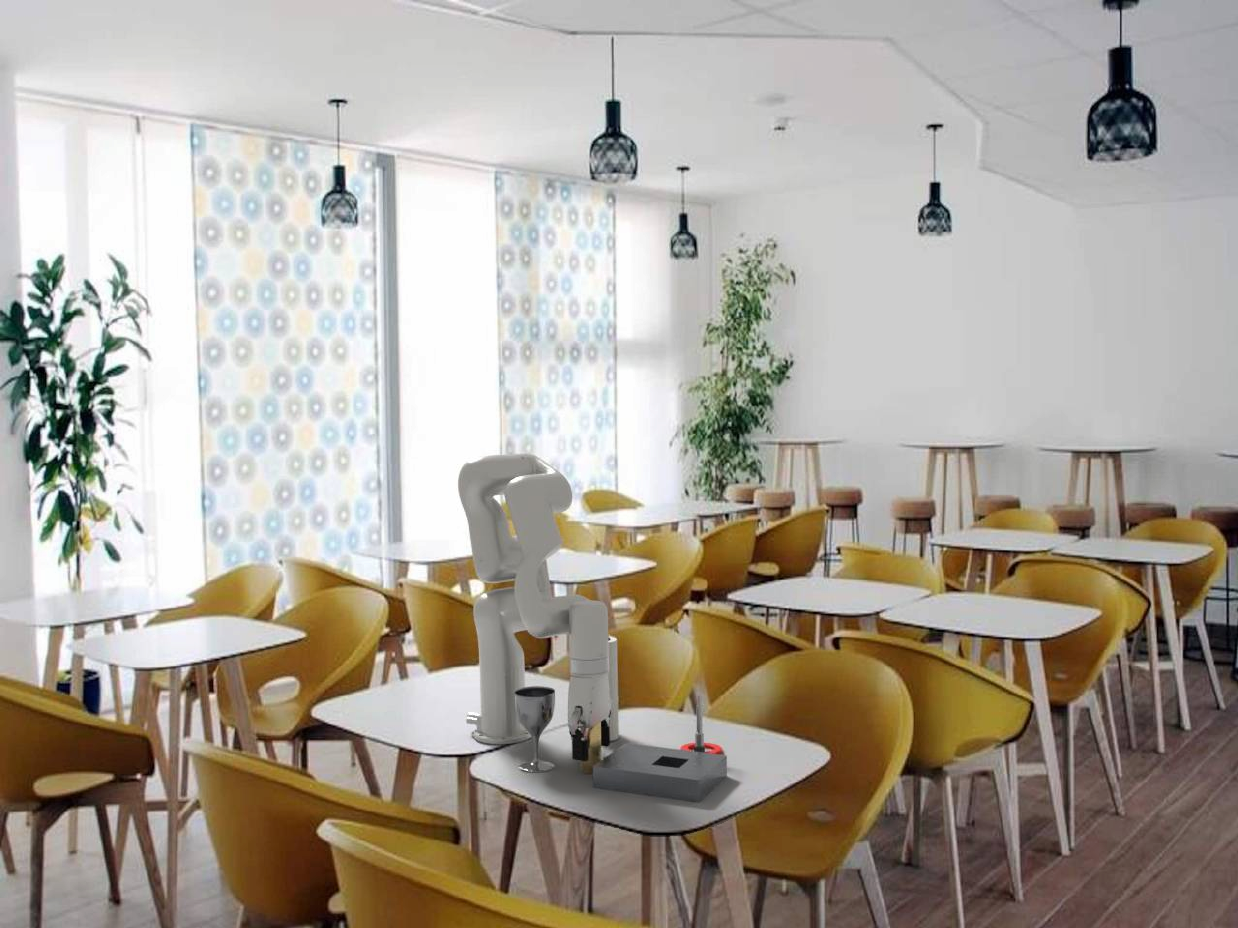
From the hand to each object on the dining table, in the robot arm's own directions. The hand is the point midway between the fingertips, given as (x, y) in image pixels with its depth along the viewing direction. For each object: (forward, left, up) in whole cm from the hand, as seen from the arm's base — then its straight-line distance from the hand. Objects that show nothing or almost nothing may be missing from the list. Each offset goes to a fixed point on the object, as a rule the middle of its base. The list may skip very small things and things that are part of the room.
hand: (591, 752), depth 229 cm
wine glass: (-11, -2, -4) cm, 12 cm away
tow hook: (+16, +18, -4) cm, 24 cm away
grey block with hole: (+15, -1, -4) cm, 15 cm away
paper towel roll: (-6, +20, -4) cm, 21 cm away
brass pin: (0, 0, -4) cm, 4 cm away
